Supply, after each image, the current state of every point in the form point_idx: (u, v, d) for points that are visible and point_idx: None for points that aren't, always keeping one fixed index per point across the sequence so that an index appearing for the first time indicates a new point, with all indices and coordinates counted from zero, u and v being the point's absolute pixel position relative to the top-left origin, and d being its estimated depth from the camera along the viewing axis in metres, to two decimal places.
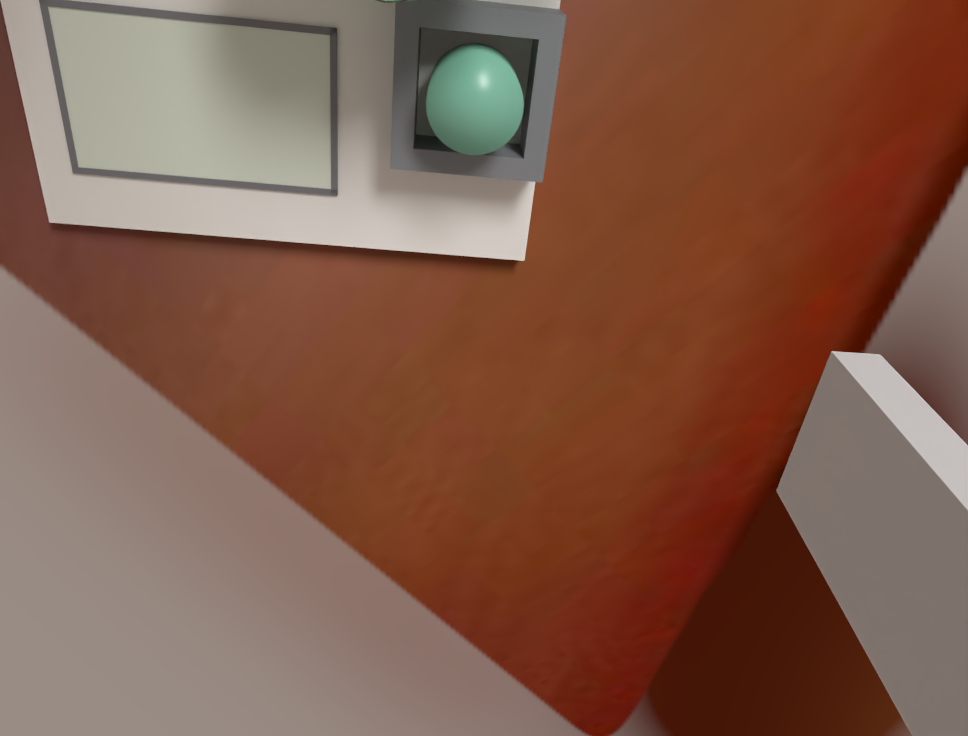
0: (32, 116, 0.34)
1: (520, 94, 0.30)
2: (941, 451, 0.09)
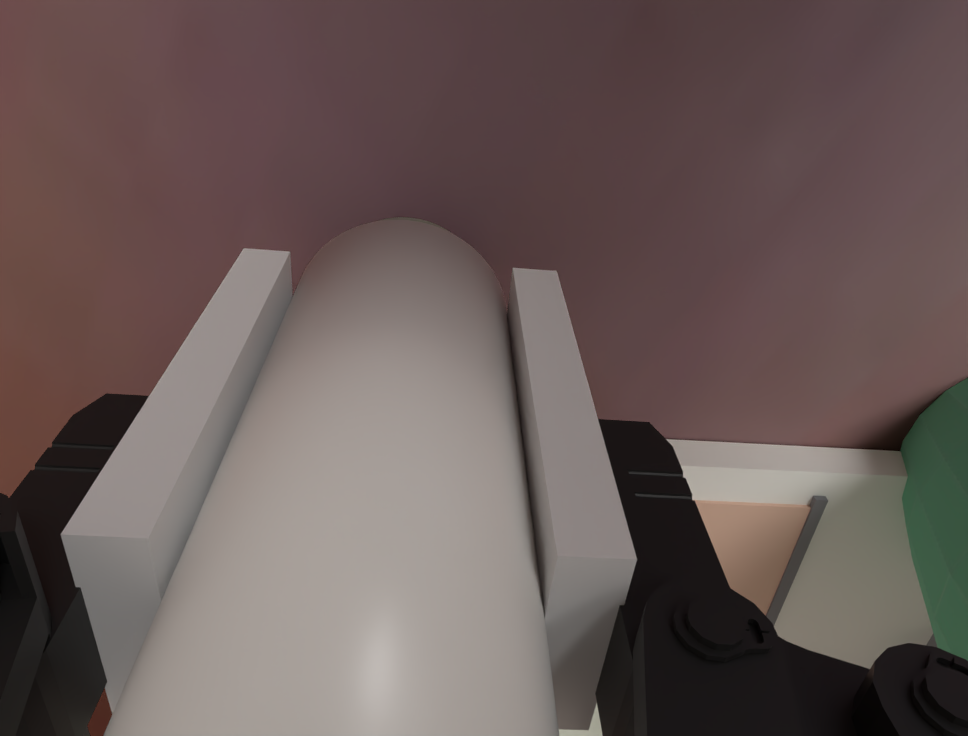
0: None
1: None
2: (545, 337, 0.10)
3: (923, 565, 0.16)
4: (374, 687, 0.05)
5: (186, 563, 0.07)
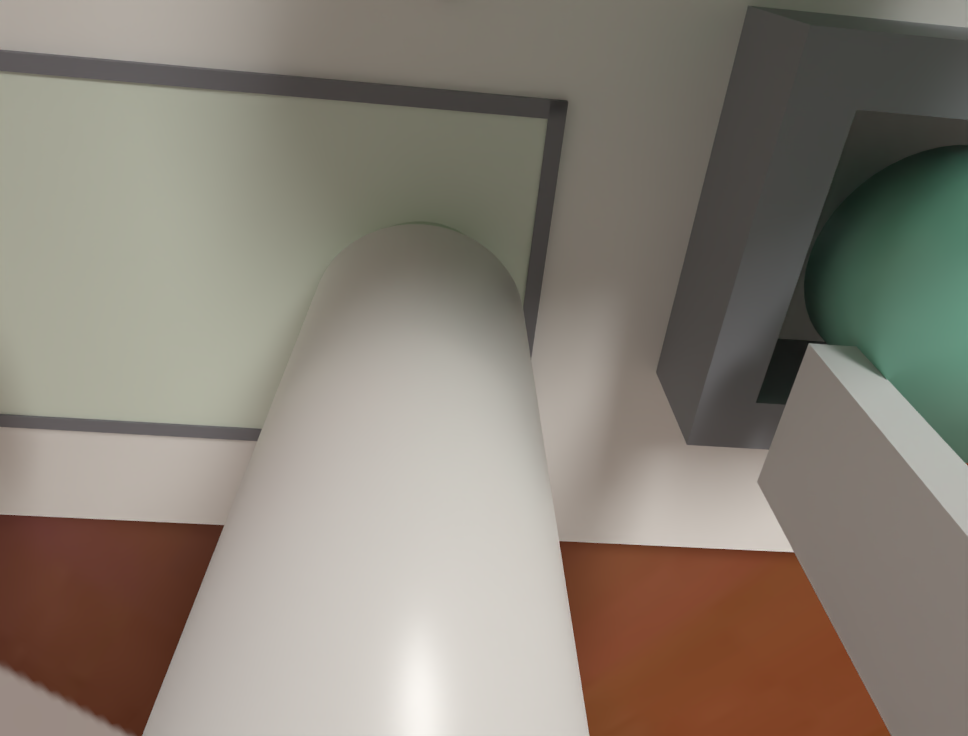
0: None
1: None
2: (912, 440, 0.09)
3: None
4: (414, 692, 0.05)
5: (218, 567, 0.07)
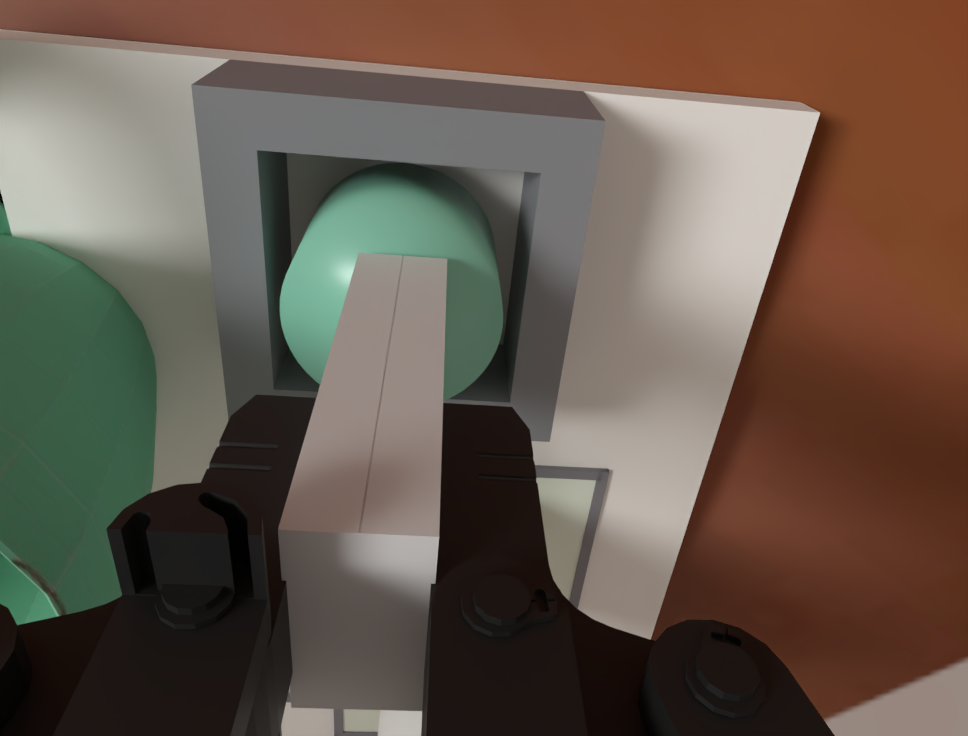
0: None
1: (358, 220, 0.12)
2: (414, 322, 0.10)
3: None
4: None
5: None
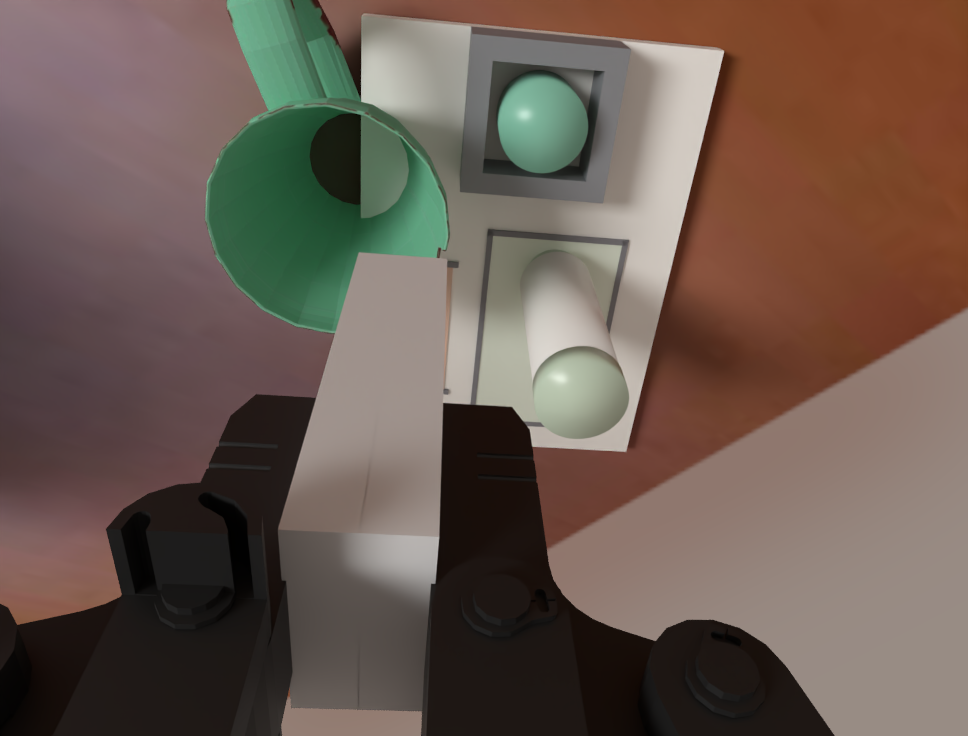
0: (547, 443, 0.47)
1: (534, 85, 0.32)
2: (414, 322, 0.10)
3: None
4: (533, 365, 0.32)
5: None
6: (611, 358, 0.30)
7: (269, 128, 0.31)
